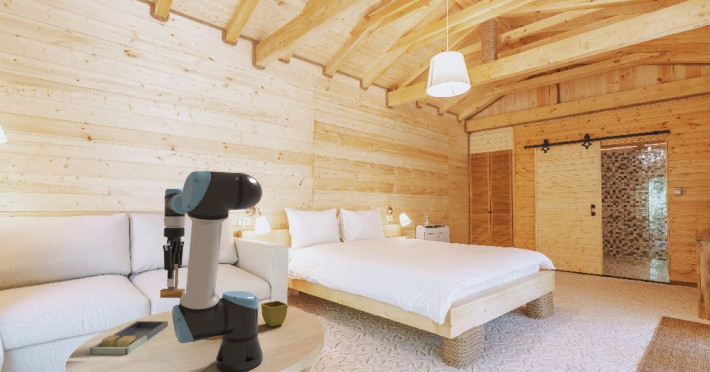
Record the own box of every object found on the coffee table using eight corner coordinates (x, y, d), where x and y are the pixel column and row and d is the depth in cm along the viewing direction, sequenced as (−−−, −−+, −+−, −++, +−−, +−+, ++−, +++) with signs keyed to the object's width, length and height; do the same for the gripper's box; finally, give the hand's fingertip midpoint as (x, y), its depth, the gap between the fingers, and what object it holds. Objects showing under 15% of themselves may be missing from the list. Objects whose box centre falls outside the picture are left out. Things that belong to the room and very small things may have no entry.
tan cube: (112, 351, 132) (113, 339, 132) (101, 351, 132) (102, 339, 132) (120, 346, 136) (120, 335, 136) (109, 346, 136) (109, 335, 136)
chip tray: (127, 357, 128) (127, 348, 128) (89, 356, 128) (90, 348, 128) (146, 343, 140) (147, 335, 140) (112, 343, 140) (112, 335, 140)
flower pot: (277, 319, 169) (278, 300, 169) (288, 325, 162) (288, 304, 163) (260, 324, 163) (260, 303, 163) (270, 329, 156) (270, 308, 157)
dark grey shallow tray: (146, 343, 140) (147, 335, 140) (112, 343, 140) (112, 335, 140) (167, 328, 156) (167, 321, 156) (136, 328, 156) (136, 321, 156)
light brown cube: (128, 351, 132) (129, 340, 132) (117, 351, 132) (117, 339, 132) (135, 346, 136) (135, 335, 136) (124, 346, 136) (124, 335, 136)
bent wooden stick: (181, 297, 147) (182, 265, 148) (160, 297, 147) (160, 264, 148) (184, 296, 150) (185, 263, 150) (163, 296, 150) (164, 263, 150)
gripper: (174, 225, 157) (172, 281, 157) (154, 228, 142) (153, 290, 141) (192, 225, 157) (190, 281, 157) (174, 228, 142) (172, 290, 141)
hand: (172, 285), depth 149 cm, fingers closed on bent wooden stick, 3 cm apart
